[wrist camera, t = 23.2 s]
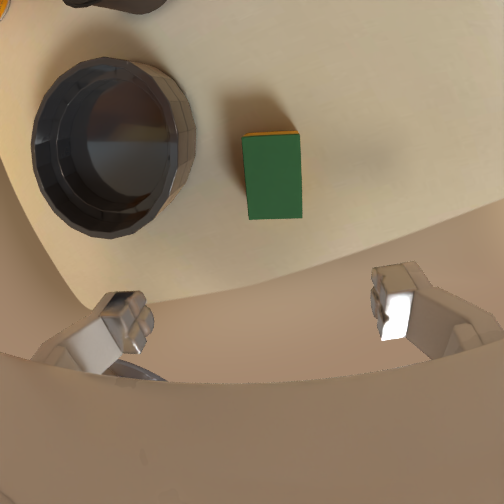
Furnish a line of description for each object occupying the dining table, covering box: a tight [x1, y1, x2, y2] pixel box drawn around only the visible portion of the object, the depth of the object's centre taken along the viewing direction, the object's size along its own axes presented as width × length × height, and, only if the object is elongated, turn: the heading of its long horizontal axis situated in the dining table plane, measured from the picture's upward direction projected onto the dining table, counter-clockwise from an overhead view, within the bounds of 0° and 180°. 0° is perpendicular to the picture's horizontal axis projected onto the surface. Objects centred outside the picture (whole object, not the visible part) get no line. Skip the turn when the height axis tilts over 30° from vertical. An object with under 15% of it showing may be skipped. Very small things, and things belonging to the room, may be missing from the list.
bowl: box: [31, 57, 196, 239], centre depth 23 cm, size 16×16×6 cm
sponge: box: [241, 131, 302, 220], centre depth 24 cm, size 7×4×4 cm, turn 5°
